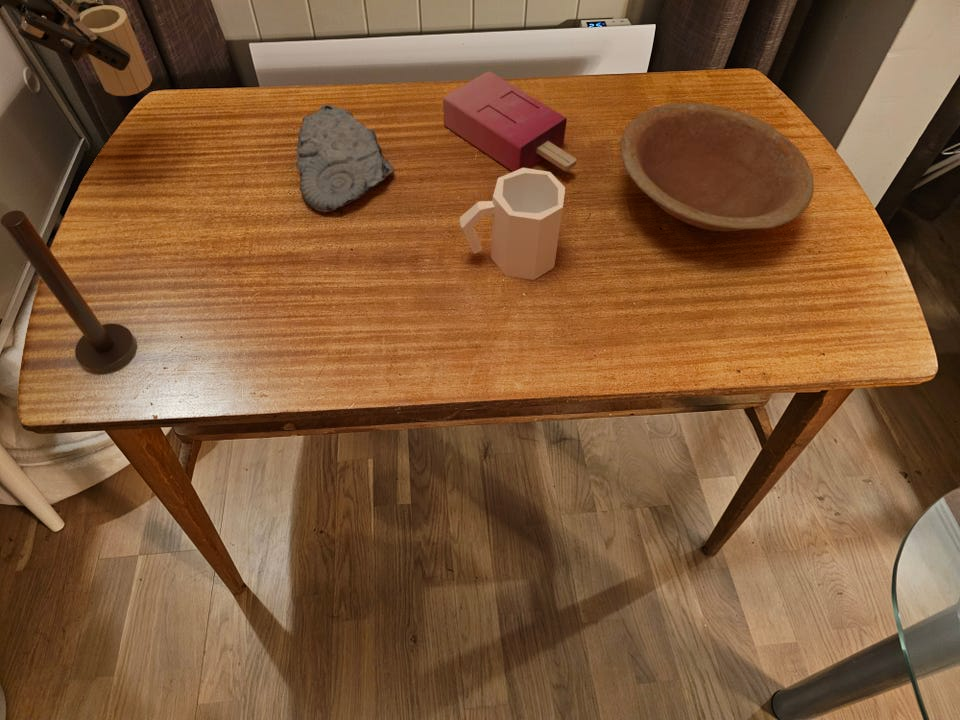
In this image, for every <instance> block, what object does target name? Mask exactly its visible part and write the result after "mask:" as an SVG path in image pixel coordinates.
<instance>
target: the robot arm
mask: <svg viewBox="0 0 960 720" xmlns="http://www.w3.org/2000/svg"><path fill="white" fill-rule="evenodd" d="M103 5H105V2H104V0H0V9H2V8H3V6H6V7H8V8H10V9H11V10H13V11H14V12H15V13H17V15H18V16H20V17H21V24H20V26H19V27H18V29H17V33H18V34H19V36H21V37H22V38H25V39H27V40H29V41H31V42H33V43H35V44H37V45H40V46H42V47H44V48H47V49H48V50H51V51H53V52H55V53H56V54H59V55H61V56H64V57H67V58H68V59H71V60H73V61H76V62H78V61H79V62H80V60H81V59H82V57H83V56H88V54H90V55H92V56H94V57H96V58H97V59H99V60H101V61H103V62H105V63H106V64H109V65H110V66H112V67H113V68H116V69H118V70H120V71H123V70H125V68H126V67H127V65H128V63H129V62H130V57H131V56H130V54H129V53H128V52H126V51H124V50H123V49H121V48H119V47H117V46H116V45H114V44H112V43H111V42H109V41H107V40H105V39H104V38H102V37H100V36H98V37H97V36H96V35H95V34H94V33H93V32H92V31H91V30H90V29H89V28H87V27H86V26H85V25H84V24H83V23H82V22H81V21H80V16H79V15H78V14H79V13H81V12H83V11H85V10H87V9H90V8H92V7H97V6H103ZM129 21H130V24H131V26H132V29H133V31H134V32H135V30H136V25H135V23H134V22H132V21H131V20H129ZM74 31H76V32H74ZM77 31H78V32H79V33H80V34H81V35H82V36H81V35H79V34H78V32H77ZM62 42H66V43H67V44H68V45H70V46H67V45H66V44H64V43H62Z"/></svg>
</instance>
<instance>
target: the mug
mask: <svg viewBox="0 0 960 720" xmlns="http://www.w3.org/2000/svg"><path fill="white" fill-rule="evenodd" d="M565 194H566V187H565V186H564V185H563V184H562V182H561V181H560V180H559V179H558V178H557V177H556V176H555V175H554V174H553V173H552V172H551V171H547V170H546V171H545V170H540V169H535V168H530V169H529V168H521V169H519V170H516V171H514V172H513V171H511V172H508V173H507V174H504V175H502V176H499V177H498V178H497V180H496V184H495V187H494V191H493V194H492V200H482V201H479V200H478V201H477V202H476V203H475V204H474V205H472V206H471V207H470V208H469V209H468V210H467V211H466V212H464V213H463V214H462V215H461V216H460V217H459V225H460V227H461V230H462V233H463V234H464V236H465V238H466V240H467V243H468V245H469V247H470V249H471V251H472V253H473V254H477V253H479V252H482V250H483V249H482V243H481V240H480V237H479V236H478V234H477V232H476V230H475V228H474V227H475V226H476V225H477V224H478V223H479V221H481V219H482V218H484V217H485V216H490V215H491V235H490V236H491V238H490V240H491V241H490V260H492V261H493V262H494V264H495V266H497V268H498V269H499V270H500V271H501V273H503V275H504V276H506V277H511V278H518V279H524V280H530V281H534V280H536V279H538V278H540V277H541V276H543V275H544V274H546V273H548V272H549V271H551V270H552V269H554V268H555V265H556V264H555V263H556V256H557V250H558V245H559V236H560V231H561V223H562V216H563V210H564V201H565Z"/></svg>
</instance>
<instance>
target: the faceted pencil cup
mask: <svg viewBox="0 0 960 720" xmlns="http://www.w3.org/2000/svg"><path fill="white" fill-rule="evenodd" d="M78 15H79V16H80V21H81V22H82V23H83V24H84V25H85V26H86V27H87V28H89V29H90V30H91V31H92V32H93V33H94V34H95V35H96V36H97V37H98V36H100V37H102V38H104V39H105V40H107V41H109V42H111V43H112V44H114V45H116V46H117V47H119V48H121V49H123V50H124V51H126V52H128V53H129V54H130V56H131V57H130V62H129V63H128V65H127V67H126V68H125V70H123V71H120V70H118V69H116V68H113V67H112V66H110V65H109V64H106V63H105V62H103V61H101V60H99V59H97V58H96V57H94V56H92V55H90V54H87V56H88V58H89V60H90V62H91V64H92V66H93V69H94V71H95V72H96V74H97V77H98V79H99V81H100V84H101V85H102V87H103V90H104V91H105V92H106V93H108V94H110V95H112V96H115V97H128V96H132V95H137V94H139V93H141V92H143V91H144V90H146V89H147V88H149V87H150V85H151V83H153V82H152V81H153V77H152V74H151V72H150V69H149V67H148V64H147V62H146V59H145V56H144V54H143V52H142V49H141V46H140V44H139V41H138V39H137V37H136V34H135V30H134V31H133V29H132V26H131V24H130V21H131V20H130V19H129V17H128V15H127V12H126V10H125V9H124V8H122V7H119V6H117V5H106V4H103V6H97V7H92V8H90V9H87V10H85V11H83V12H81V13H79V14H78ZM76 33H77V34H78V35H81V34H80V33H79V32H78V31H76ZM81 36H82V35H81Z"/></svg>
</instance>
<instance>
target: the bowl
mask: <svg viewBox="0 0 960 720" xmlns="http://www.w3.org/2000/svg"><path fill="white" fill-rule="evenodd" d="M619 150H620V157H621V160H622V163H623V166H624V168H625V170H626V172H627V174H628V176H629V178H631V179H632V181H633V182H634V184H635V185H637V187H638V188H639V189H640V190H641V191H642V192H643V193H644V194H646V195H647V196H648V197H649V198H650V199H652V201H653V202H654V203H655V204H656V205H657V206H658V207H659V208H660V209H661V210H662V211H664V212H665V213H666V214H668V215H670V216H672V217H673V218H675V219H678V220H680V221H681V222H683V223H685V224H688V225H690V226H694V227H696V228H700V229H703V230H707V231H713V232H735V231H736V232H737V231H741V230H771V229H774V228H777V227H781V226H782V225H785V224H787V223H789V222H792V221H793V220H794V219H796V218H797V217H798V216H800V215H802V213H804V211H805V210H806V209H807V208H808V206H809V205H810V204H811V202H812V198H813V196H814V191H815V186H814V184H815V183H814V173H813V172H812V170H811V167H810V166H809V163H808V159H806V157H805V155H804V154H803V153H802V152H801V150H800V149H799V148H798V147H797V146H796V145H795V144H794V143H793V142H792V141H791V140H790V139H789V138H788V137H787V136H785V134H783V133H781V132H780V131H779V130H777V129H776V128H775V127H774V126H773V125H772V124H770V123H768V122H767V121H765V120H761V119H759V118H757V117H756V116H753V115H750V114H747V113H743V112H740V111H737V110H734V109H731V108H729V107H723V106H719V105H714V104H709V103H700V102H675V103H669V104H667V103H666V104H663V105H660V106H653V107H649V109H647V110H645V111H643V112H641V113H640V114H638V115H637V116H636V117H634V118H632V120H631V121H630V122H629V123H628V124H627V126H626V127H625V129H624V131H623V132H622V135H621V139H620V149H619Z"/></svg>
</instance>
